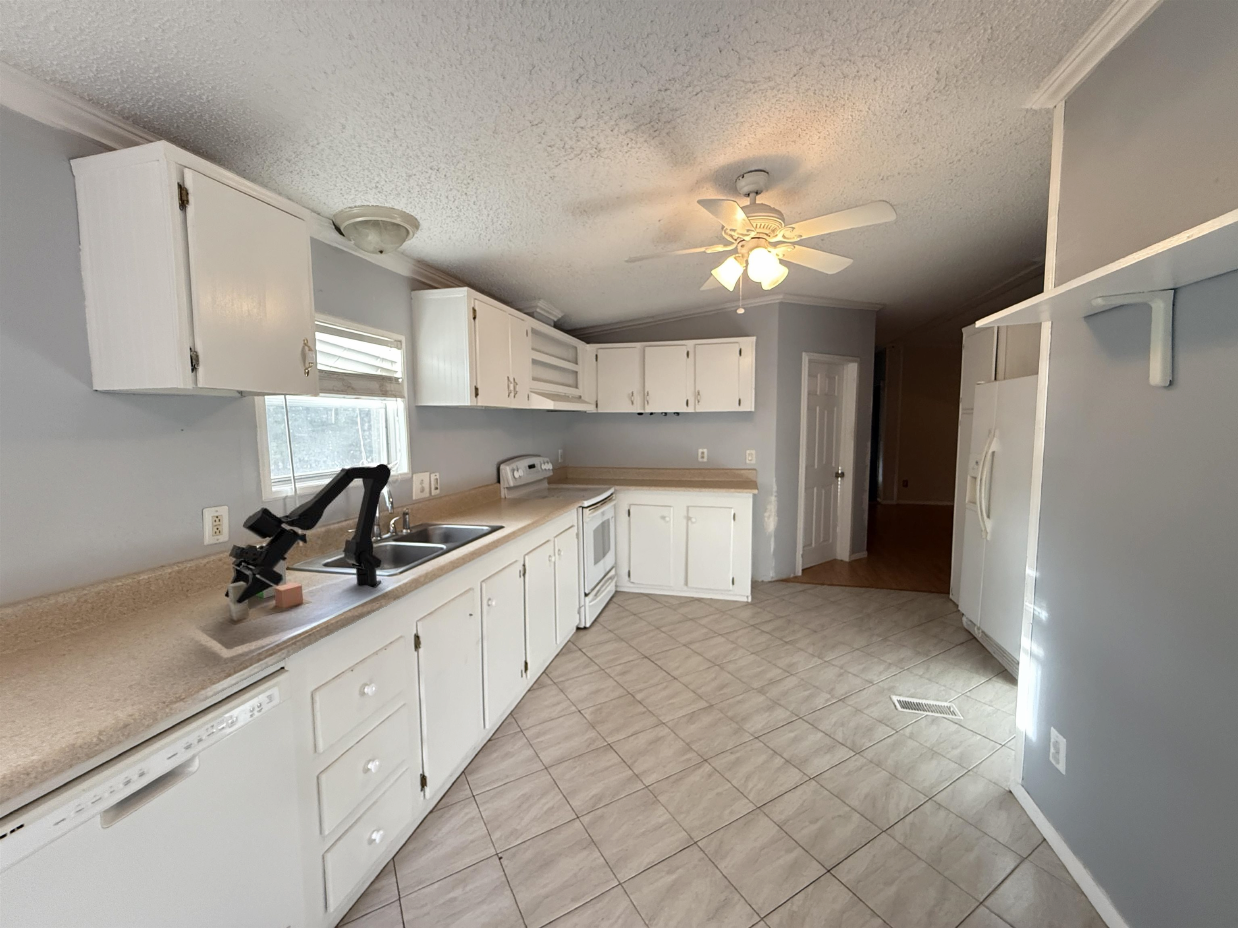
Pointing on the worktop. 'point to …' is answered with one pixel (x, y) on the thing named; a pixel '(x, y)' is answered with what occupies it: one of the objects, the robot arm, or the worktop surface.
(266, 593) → the skincare box
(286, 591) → the cube
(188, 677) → the worktop surface
